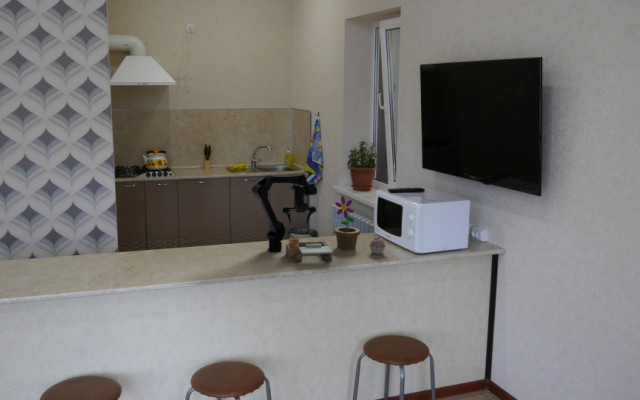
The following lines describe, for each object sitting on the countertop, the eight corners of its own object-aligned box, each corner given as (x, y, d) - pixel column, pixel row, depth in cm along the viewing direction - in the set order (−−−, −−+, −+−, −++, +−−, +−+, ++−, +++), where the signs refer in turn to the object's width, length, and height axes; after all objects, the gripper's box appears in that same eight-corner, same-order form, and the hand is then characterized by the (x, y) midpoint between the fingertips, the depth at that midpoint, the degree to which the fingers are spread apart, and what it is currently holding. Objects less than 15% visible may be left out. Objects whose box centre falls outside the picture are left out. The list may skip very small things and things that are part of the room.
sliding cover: (302, 254, 295) (302, 249, 295) (298, 248, 305) (298, 244, 304) (332, 253, 299) (333, 248, 298) (328, 247, 308) (328, 243, 308)
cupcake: (381, 256, 314) (382, 238, 312) (365, 254, 319) (366, 236, 317) (388, 252, 322) (389, 235, 320) (373, 250, 327) (373, 232, 325)
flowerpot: (328, 247, 328) (330, 195, 322) (342, 242, 340) (344, 191, 334) (350, 252, 320) (352, 199, 314) (363, 247, 332) (366, 195, 326)
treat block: (290, 248, 304) (290, 239, 303) (288, 246, 308) (289, 237, 307) (298, 248, 305) (299, 239, 304) (297, 246, 309) (297, 237, 308)
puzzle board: (290, 262, 300) (290, 251, 299) (284, 252, 317) (284, 242, 316) (331, 260, 305) (332, 250, 304) (324, 250, 322) (324, 240, 321)
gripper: (284, 199, 313) (283, 228, 316) (318, 199, 317) (317, 227, 320) (281, 195, 324) (280, 223, 327) (314, 195, 328) (313, 222, 331)
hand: (298, 224), depth 326 cm, fingers open, 9 cm apart
